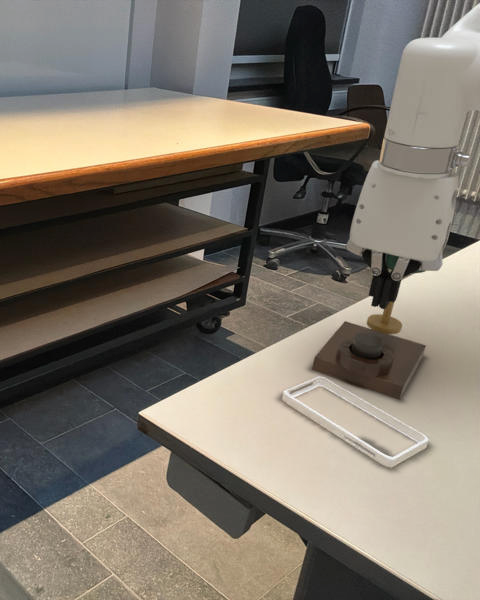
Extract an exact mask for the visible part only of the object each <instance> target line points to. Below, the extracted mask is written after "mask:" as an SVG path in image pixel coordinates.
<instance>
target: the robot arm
mask: <svg viewBox="0 0 480 600" xmlns="http://www.w3.org/2000/svg"><path fill="white" fill-rule="evenodd" d="M392 94H393V95H392V99H391V102H390V106H389V107H390V108H389V112H388V118H387V122H386V127H385V131H384V135H383V140H382V144H381V148H380V153H379V158H378V159H377V160H374V161H373V162H372V164H371V166H370V168H369V170H368V173H367V174H366V177H365V180H364V183H363V185H362V188H361V191H360V194H359V197H358V200H357V203H356V207H355V210H354V214H353V217H352V220H351V225H350V230H349V238H348V241H347V242H346V245H345V249H346V250H347V251H348V252H350V253H353V254H354V255H356V256H360V257H361V258H363V260H364V262H365V263H366V265H367V266H368V267H369V269H370V274H371V275H372V278H371V282H370V286H369V292H368V297H372V300H371V304H370V306H371V307H374V308H377V307H378V308H379V309H382V310H384V309H385V308H386V307H387V306H388V304H389V303H390V302H394V303H395V302H396V301H397V298H398V294H399V291H400V287H401V283H402V280H403V278H405V277H407V276H410V275H412V274H414V273H413V272H415V271H417V270H422V271H425V272H438V271H440V269H441V268H442V266H443V263H444V261H443V251H444V250H445V248H446V246H447V243H448V241H449V237H450V232H451V228H452V225H453V220H454V214H455V209H456V205H457V198H458V189H459V172H457V171H455V170H453V169H455V168H456V167H460V166H461V167H465V168H467V167H468V166H469V163H470V161H471V157H472V154H471V153H465V151H461V148H460V144H459V143H460V140H461V136H462V132H463V129H464V125H465V121H466V118H467V115H468V112H470V111H478V112H480V2H479V3H478V4H475V6H474V7H472V9H470V10H469V11H468V12H467V13H466V14H464V15H463V16H462V17H461V18H460V19H458V21H456V23H454V24H453V25H452V26H451V27H450V28H449V29H448V30H447V31H445V33H444V34H443V35H442V36H441V37H420V38H419V37H418V38H416V39H413V40H411V41H409V42H408V43H407V44H406V45H405V47H404V48H403V51H402V54H401V58H400V61H399V66H398V70H397V75H396V80H395V85H394V89H393V93H392ZM388 254H391V255H396V256H399V258H398V260H397V263H396V265H395V267H394V269H393V270H390V269H388V267H387V258H388Z"/></svg>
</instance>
